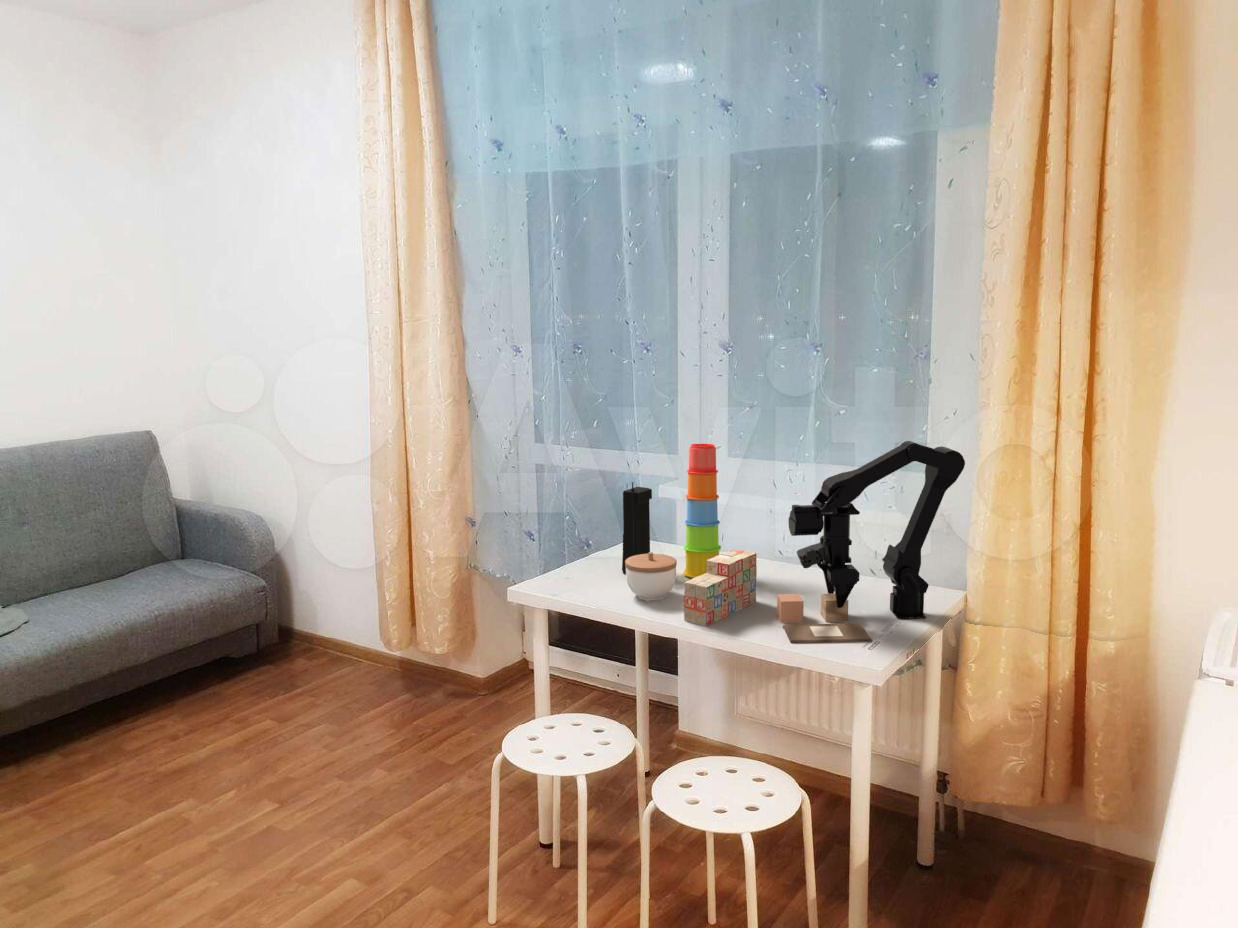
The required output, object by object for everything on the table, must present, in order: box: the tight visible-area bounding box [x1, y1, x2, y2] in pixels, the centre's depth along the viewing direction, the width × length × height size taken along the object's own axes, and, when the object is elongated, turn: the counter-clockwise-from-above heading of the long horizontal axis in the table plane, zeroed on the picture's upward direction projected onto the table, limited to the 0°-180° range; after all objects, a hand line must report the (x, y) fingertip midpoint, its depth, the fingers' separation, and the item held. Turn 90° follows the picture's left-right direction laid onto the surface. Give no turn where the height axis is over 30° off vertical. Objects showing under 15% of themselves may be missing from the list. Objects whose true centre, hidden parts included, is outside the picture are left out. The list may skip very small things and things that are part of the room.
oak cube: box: [820, 593, 849, 623], centre depth 207 cm, size 5×5×5 cm
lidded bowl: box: [625, 551, 678, 602], centre depth 224 cm, size 13×13×11 cm
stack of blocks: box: [683, 549, 758, 627], centre depth 212 cm, size 21×6×12 cm, turn 140°
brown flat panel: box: [782, 622, 873, 644], centre depth 197 cm, size 17×10×1 cm, turn 89°
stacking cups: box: [683, 443, 722, 579], centre depth 238 cm, size 10×10×35 cm
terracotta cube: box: [776, 593, 804, 624], centre depth 207 cm, size 5×5×5 cm
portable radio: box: [621, 481, 653, 575], centre depth 243 cm, size 8×6×25 cm
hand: (835, 600), depth 207 cm, fingers open, 9 cm apart
